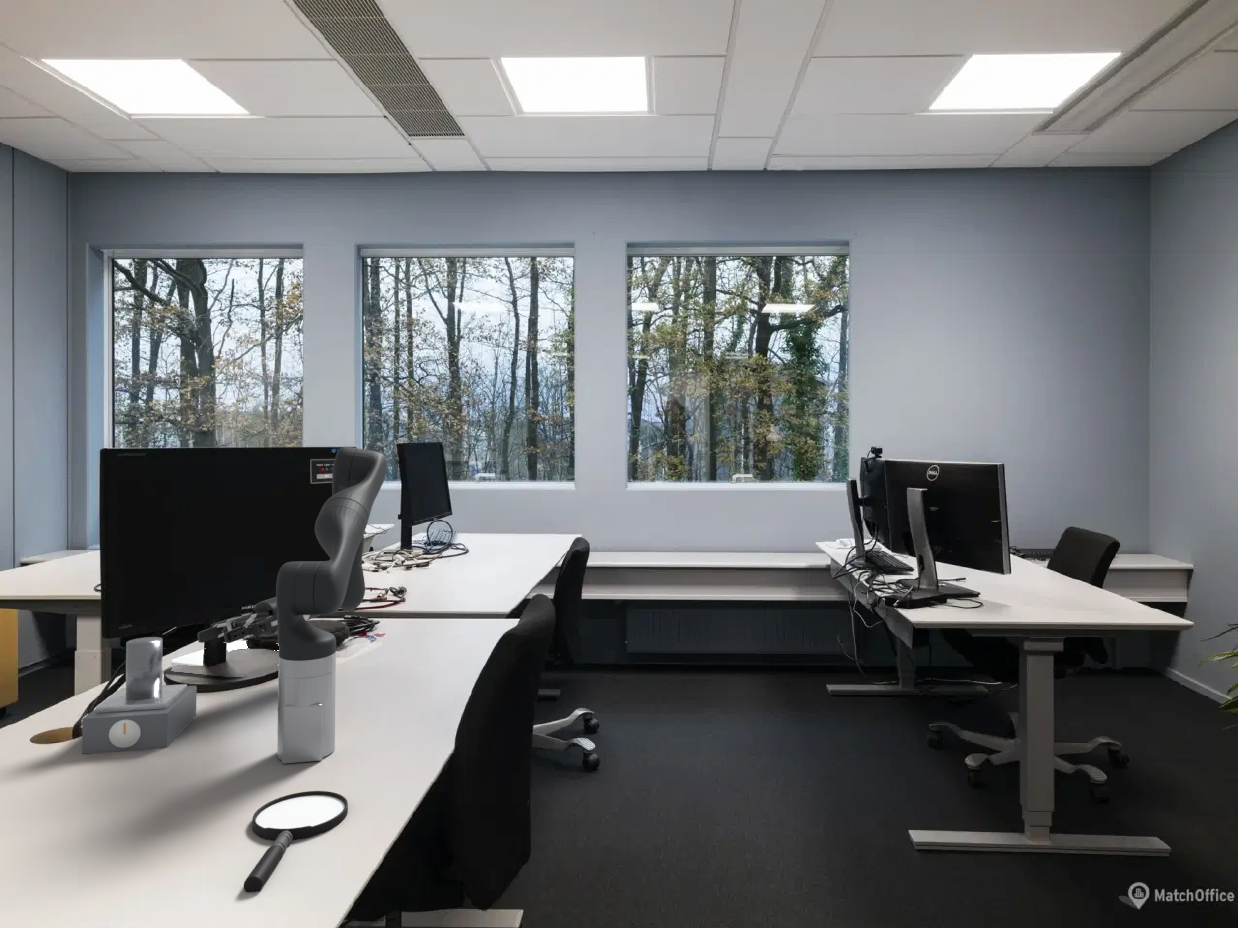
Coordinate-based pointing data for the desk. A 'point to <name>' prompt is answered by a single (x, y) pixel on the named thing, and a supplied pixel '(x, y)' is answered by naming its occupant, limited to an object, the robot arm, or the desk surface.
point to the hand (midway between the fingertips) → (211, 638)
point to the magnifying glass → (292, 826)
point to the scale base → (138, 726)
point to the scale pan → (159, 702)
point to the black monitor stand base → (197, 657)
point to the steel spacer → (143, 668)
